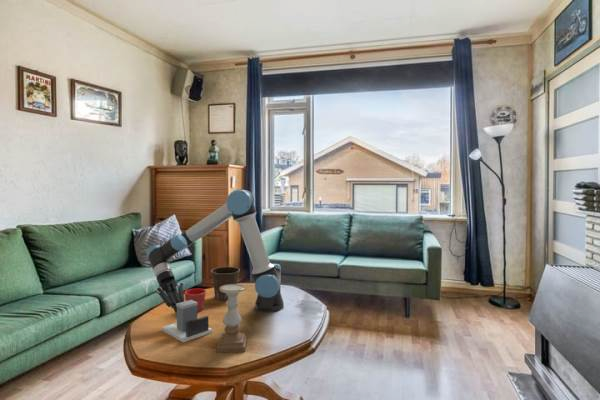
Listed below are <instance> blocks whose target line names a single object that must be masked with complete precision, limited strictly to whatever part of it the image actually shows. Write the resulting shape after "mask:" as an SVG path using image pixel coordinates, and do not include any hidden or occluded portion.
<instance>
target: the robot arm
mask: <svg viewBox="0 0 600 400" xmlns="http://www.w3.org/2000/svg"><path fill="white" fill-rule="evenodd" d="M254 203H255V198H254V195H253V194H252V192H251V191H249V190H247V189H243V188H242V189H241V188H238V189H235V190H233V191H231V192H230V193H229V195H228V196H227V198H226V201H225V204H224V205H222V206H220V207H219V208H217V209H216V210H215V211H213V212H211V213H210V214H208V215H207V216H205V217H204V218H202V220H199V221H198V222H197V223H195V224H194V225H193V226H191V227H189V228H188V229H186V230H185V231H184V232H182V233H181V234H179V233H178V234H175V236H172V237H171V238H170V239H169V240H167V241H165V243H163V244H162V245H159V244H156V245H151V246H149V247H148V248H147V250H146V256H147V260H148V262H149V263H150V264H149V265H150V266H151V268H152V272H153V273H154V276H155V278H156V281H157V283H158V287H157V288H156V290H155V293H156V294H157V295H159V296H160V298H161V299H162V301H163V302H164V304H165V305H166V306H167V307H168V308H170V307H171V309H173V311H174V313H175V314H177V306H176V304H177V303H181V302H184V301H186V300H185V293H184V288H183V287H184V283H183V282H181V283H179V282H178V281H177V280H176V279H175V278H176V277H175V275H174V273H173V271H172V267H171V265H170V263H169V261H168V260H170V259H171V258H172V257H174V256H175V255H177V254H178V253H180V252H182V251H184V250H185V249H187V248H189V247H190V246H191V245H192V244H194V243H196V242H197V241H199V240H200V239H201V238H203V237H205V236H206V235H208V234H209V233H211V232H212V231H213V230H215V229H217V228H218V227H220V226H222V224H224V223H225V222H226V221H228V220H230V219H232V220H233V221H234V222H236V223H237V224H238V227H239V230H240V232H241V236H242V238H243V242H244V245H245V246H246V251H247V254H248V255H249V259H250V261H251V262H250V263H251V264H252V268H253V269H252V272H251V274H252V278H253V281H254V289H255V292H256V293H257V297H256V300H255V302H254V303H255V304H254V308H255V310H257V311H260V312H278V311H281V310H283V309H284V308H285V307H284V306H285V305H284V304H285V303H284V299H283V296H282V292H281V287H282V285H281V284H282V282H281V278H282V277H281V275H282V273H281V271H282V268H281V265H280V264H279V263H271V261H270V259H269V255H268V251H267V250H266V247H265V242H264V240H263V237H262V234H261V232H260V229H259V225H258V223H257V220H256V214H257V210H256V209H257V208H256V207H255V204H254ZM280 309H281V310H280ZM277 310H278V311H277Z"/></svg>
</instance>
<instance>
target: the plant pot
mask: <svg viewBox="0 0 600 400" xmlns="http://www.w3.org/2000/svg"><path fill="white" fill-rule="evenodd" d="M240 271H241V270H240V268H238V267H235V266H222V267H221V266H220V267H216V268H213V269H211V270H210V273H211V277H212V283H213V293H214V299H215V300H217V301H220V302H221V301H223V302H224V301H227V300H228V296H227V295H226V293H223V292H221V291H220V290H219V288H220V287H221V286H223V285H227V284H239V283H238V282H239V281H238V280H239V275H240Z"/></svg>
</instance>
